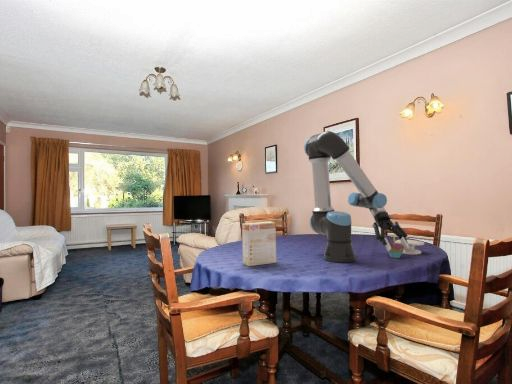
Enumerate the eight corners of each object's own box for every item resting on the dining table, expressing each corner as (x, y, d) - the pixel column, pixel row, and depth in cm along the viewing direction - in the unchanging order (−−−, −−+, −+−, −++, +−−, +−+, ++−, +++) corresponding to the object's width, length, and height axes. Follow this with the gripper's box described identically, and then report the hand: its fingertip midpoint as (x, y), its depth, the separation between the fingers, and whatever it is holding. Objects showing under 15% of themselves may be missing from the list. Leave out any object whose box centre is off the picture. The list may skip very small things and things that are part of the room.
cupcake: (403, 259, 148) (402, 234, 148) (384, 257, 152) (384, 233, 152) (405, 256, 155) (404, 232, 155) (387, 254, 159) (387, 231, 159)
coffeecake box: (269, 260, 150) (269, 221, 151) (276, 263, 144) (276, 222, 144) (242, 263, 144) (241, 222, 144) (248, 266, 138) (247, 223, 138)
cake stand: (396, 254, 160) (396, 243, 160) (394, 249, 173) (394, 239, 173) (426, 256, 154) (426, 244, 154) (422, 251, 167) (422, 240, 168)
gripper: (395, 219, 170) (415, 252, 155) (359, 220, 167) (375, 254, 151) (401, 210, 165) (422, 244, 149) (364, 211, 162) (381, 246, 146)
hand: (398, 249), depth 150 cm, fingers open, 9 cm apart
